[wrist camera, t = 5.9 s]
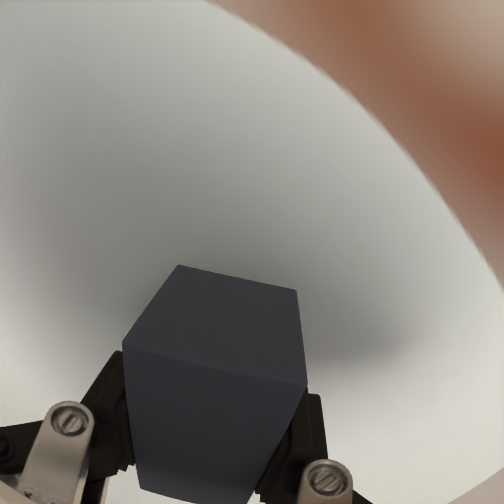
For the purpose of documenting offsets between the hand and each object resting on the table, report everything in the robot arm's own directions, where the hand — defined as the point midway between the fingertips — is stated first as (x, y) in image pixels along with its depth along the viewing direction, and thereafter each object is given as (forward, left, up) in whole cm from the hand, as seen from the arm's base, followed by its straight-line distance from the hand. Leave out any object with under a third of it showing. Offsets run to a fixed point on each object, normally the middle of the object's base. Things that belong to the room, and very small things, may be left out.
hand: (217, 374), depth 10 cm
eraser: (0, 0, 0) cm, 0 cm away
